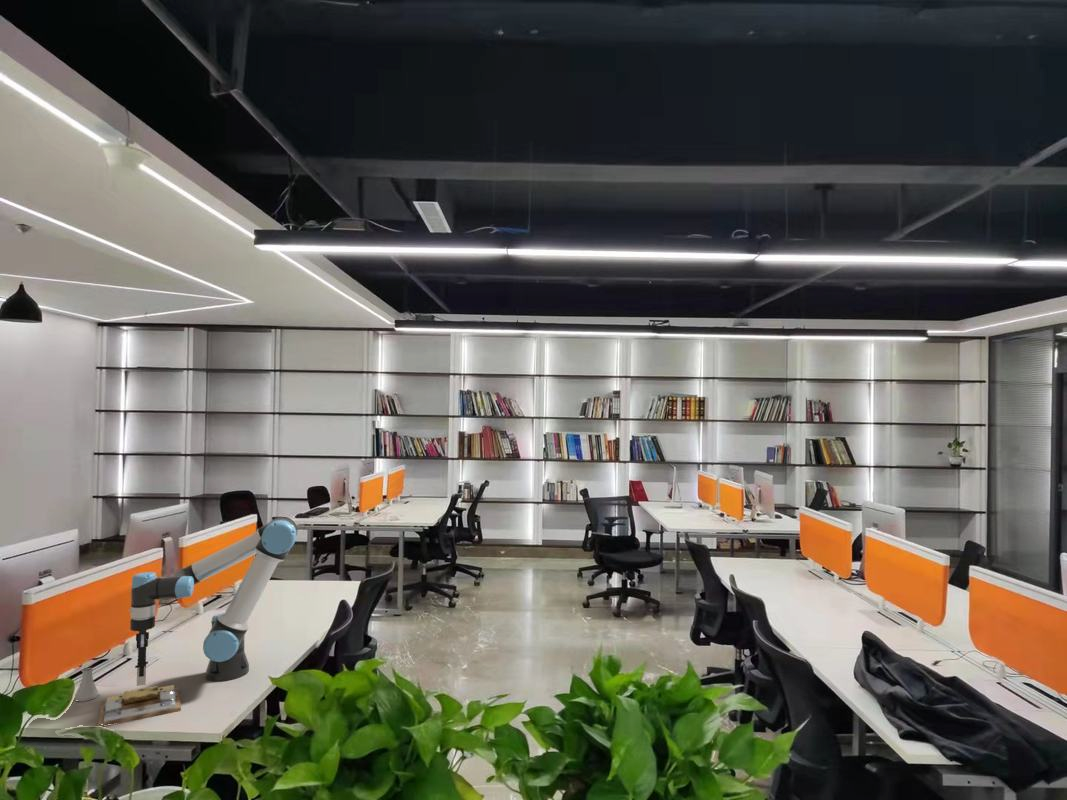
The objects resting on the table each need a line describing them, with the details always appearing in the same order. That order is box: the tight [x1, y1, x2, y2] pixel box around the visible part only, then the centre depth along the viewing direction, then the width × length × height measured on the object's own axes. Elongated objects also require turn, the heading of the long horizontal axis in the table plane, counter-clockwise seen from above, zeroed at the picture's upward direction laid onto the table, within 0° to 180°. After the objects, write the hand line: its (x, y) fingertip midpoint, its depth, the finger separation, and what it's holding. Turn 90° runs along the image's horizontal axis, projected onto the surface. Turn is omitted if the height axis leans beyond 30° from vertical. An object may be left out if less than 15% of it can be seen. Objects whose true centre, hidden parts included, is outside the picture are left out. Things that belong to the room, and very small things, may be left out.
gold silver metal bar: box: [106, 684, 175, 705], centre depth 221 cm, size 20×8×4 cm, turn 121°
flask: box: [73, 667, 100, 703], centre depth 225 cm, size 7×7×10 cm
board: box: [97, 686, 182, 728], centre depth 217 cm, size 23×20×1 cm
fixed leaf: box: [103, 689, 177, 722], centre depth 212 cm, size 21×8×4 cm, turn 121°
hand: (141, 684), depth 226 cm, fingers closed
